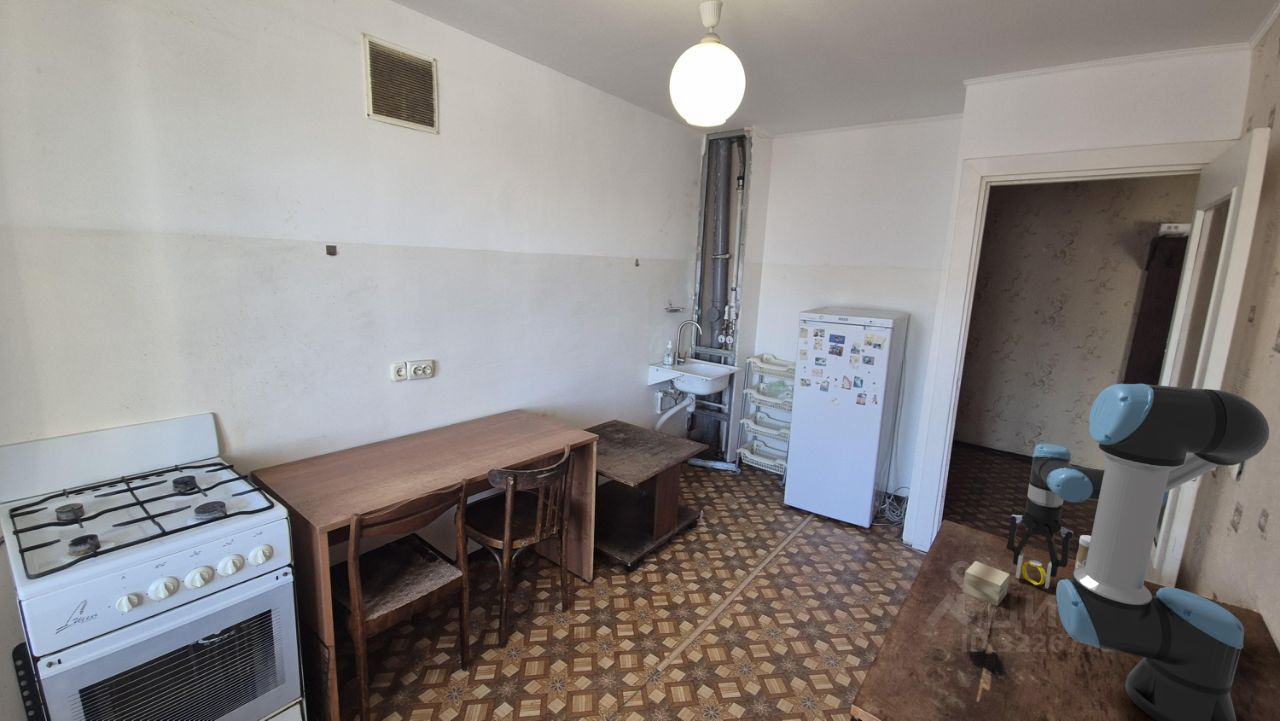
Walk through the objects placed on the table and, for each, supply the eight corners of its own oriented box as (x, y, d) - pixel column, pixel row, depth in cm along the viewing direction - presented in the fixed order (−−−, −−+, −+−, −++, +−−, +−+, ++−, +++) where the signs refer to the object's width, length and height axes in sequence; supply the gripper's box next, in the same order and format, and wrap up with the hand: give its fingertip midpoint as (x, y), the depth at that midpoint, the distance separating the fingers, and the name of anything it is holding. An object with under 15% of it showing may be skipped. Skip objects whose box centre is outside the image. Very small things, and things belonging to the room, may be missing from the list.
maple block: (1006, 594, 138) (1009, 574, 137) (997, 606, 132) (1000, 585, 131) (972, 580, 144) (975, 560, 143) (962, 591, 138) (965, 571, 137)
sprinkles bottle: (1076, 586, 141) (1084, 541, 139) (1069, 576, 146) (1077, 533, 143) (1097, 589, 140) (1105, 544, 137) (1089, 580, 144) (1097, 536, 142)
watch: (1046, 588, 139) (1051, 569, 138) (1038, 589, 139) (1042, 570, 137) (1025, 574, 145) (1030, 555, 143) (1017, 575, 144) (1022, 556, 143)
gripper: (1091, 508, 134) (1078, 590, 137) (1005, 487, 147) (995, 562, 151) (1088, 517, 129) (1074, 602, 132) (999, 494, 142) (989, 572, 145)
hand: (1032, 580), depth 141 cm, fingers closed on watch, 6 cm apart
